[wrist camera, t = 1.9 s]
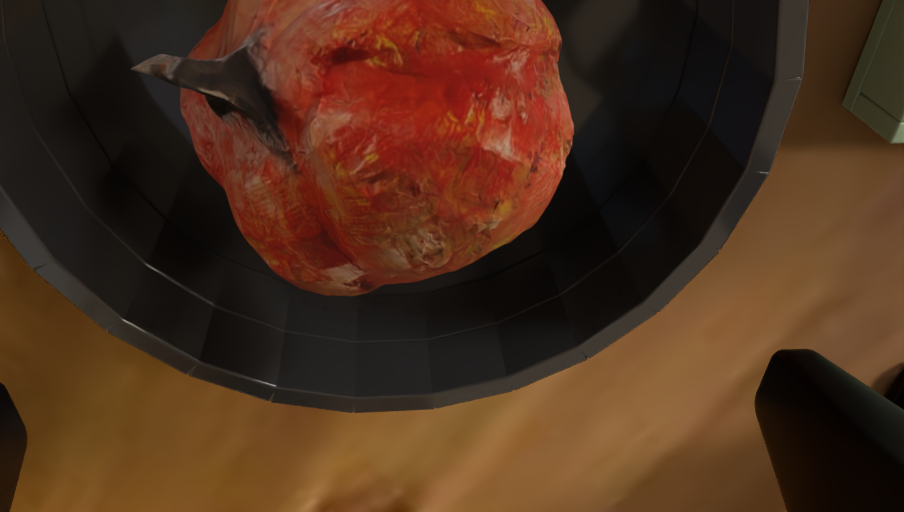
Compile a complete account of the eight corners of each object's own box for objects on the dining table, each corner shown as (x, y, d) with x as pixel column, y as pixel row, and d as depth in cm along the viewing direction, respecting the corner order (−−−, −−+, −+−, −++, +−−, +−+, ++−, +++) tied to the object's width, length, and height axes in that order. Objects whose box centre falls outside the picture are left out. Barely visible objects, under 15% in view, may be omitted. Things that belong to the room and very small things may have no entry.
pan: (641, 292, 23) (692, 397, 19) (121, 309, 21) (70, 427, 18) (812, -377, 13) (977, -417, 10) (-120, -436, 12) (-337, -509, 8)
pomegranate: (555, -40, 18) (276, -351, 10) (697, 202, 16) (504, 84, 7) (350, 123, 21) (-1, 0, 13) (445, 344, 19) (104, 379, 10)
